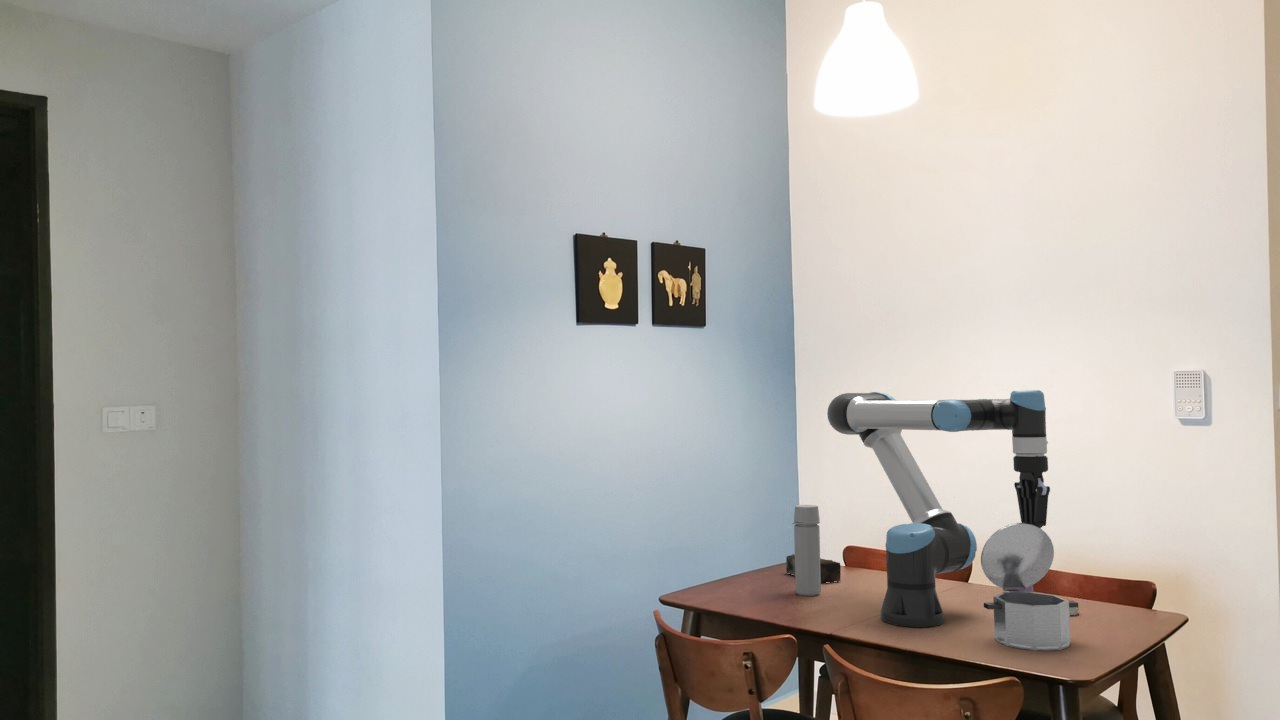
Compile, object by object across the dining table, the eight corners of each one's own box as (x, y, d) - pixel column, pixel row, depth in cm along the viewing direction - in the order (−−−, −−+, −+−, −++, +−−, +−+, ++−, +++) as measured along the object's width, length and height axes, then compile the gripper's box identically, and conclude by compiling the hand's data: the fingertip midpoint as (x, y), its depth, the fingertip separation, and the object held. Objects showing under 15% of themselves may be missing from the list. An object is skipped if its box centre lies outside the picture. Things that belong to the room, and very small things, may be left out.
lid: (987, 525, 209) (981, 519, 212) (979, 592, 214) (973, 585, 217) (1059, 524, 210) (1052, 518, 213) (1050, 590, 215) (1043, 583, 218)
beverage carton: (806, 572, 293) (806, 551, 293) (842, 583, 275) (841, 561, 276) (785, 574, 290) (785, 553, 290) (820, 585, 272) (819, 563, 273)
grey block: (1060, 608, 239) (1059, 592, 239) (1084, 616, 230) (1083, 600, 230) (1032, 610, 237) (1032, 594, 237) (1056, 618, 228) (1055, 602, 229)
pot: (1002, 652, 198) (1000, 607, 198) (971, 633, 214) (970, 592, 214) (1095, 649, 199) (1093, 605, 199) (1058, 631, 215) (1056, 590, 215)
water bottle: (827, 595, 257) (825, 506, 259) (803, 597, 254) (801, 508, 256) (809, 589, 266) (807, 503, 267) (786, 591, 263) (784, 504, 264)
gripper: (1059, 456, 209) (1064, 559, 208) (1032, 453, 222) (1036, 550, 221) (1028, 456, 209) (1032, 560, 208) (1002, 454, 222) (1006, 551, 221)
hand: (1034, 555), depth 214 cm, fingers closed
